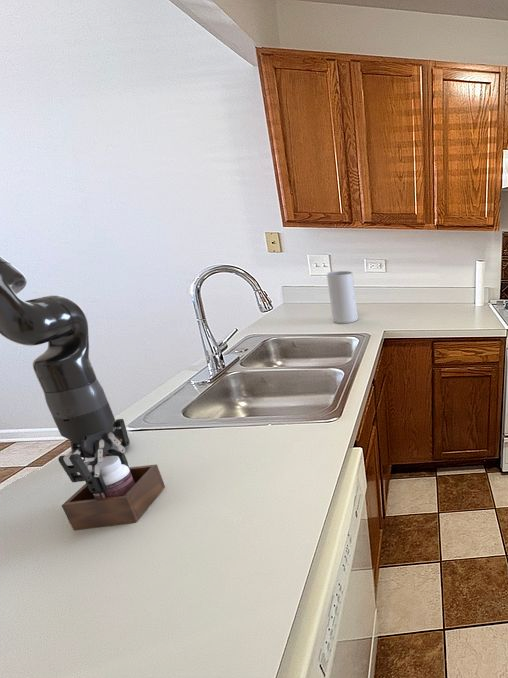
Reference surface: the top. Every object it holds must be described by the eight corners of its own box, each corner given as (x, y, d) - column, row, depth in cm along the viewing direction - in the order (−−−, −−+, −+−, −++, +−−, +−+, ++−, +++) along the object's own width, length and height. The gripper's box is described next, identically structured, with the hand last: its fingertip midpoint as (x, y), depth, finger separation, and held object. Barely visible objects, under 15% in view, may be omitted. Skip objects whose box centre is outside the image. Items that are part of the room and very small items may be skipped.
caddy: (73, 530, 75) (61, 505, 73) (109, 493, 85) (100, 470, 83) (136, 522, 77) (126, 497, 75) (165, 486, 87) (157, 464, 85)
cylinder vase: (353, 316, 218) (347, 270, 209) (361, 321, 209) (355, 273, 200) (330, 319, 212) (323, 272, 202) (337, 325, 202) (330, 276, 193)
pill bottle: (147, 494, 85) (131, 451, 81) (132, 515, 79) (113, 469, 75) (113, 499, 83) (94, 455, 79) (95, 520, 78) (73, 474, 74)
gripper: (84, 391, 78) (113, 461, 85) (22, 428, 65) (61, 509, 71) (127, 387, 80) (153, 457, 86) (75, 424, 67) (109, 503, 73)
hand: (111, 480), depth 79 cm, fingers closed on pill bottle, 6 cm apart
